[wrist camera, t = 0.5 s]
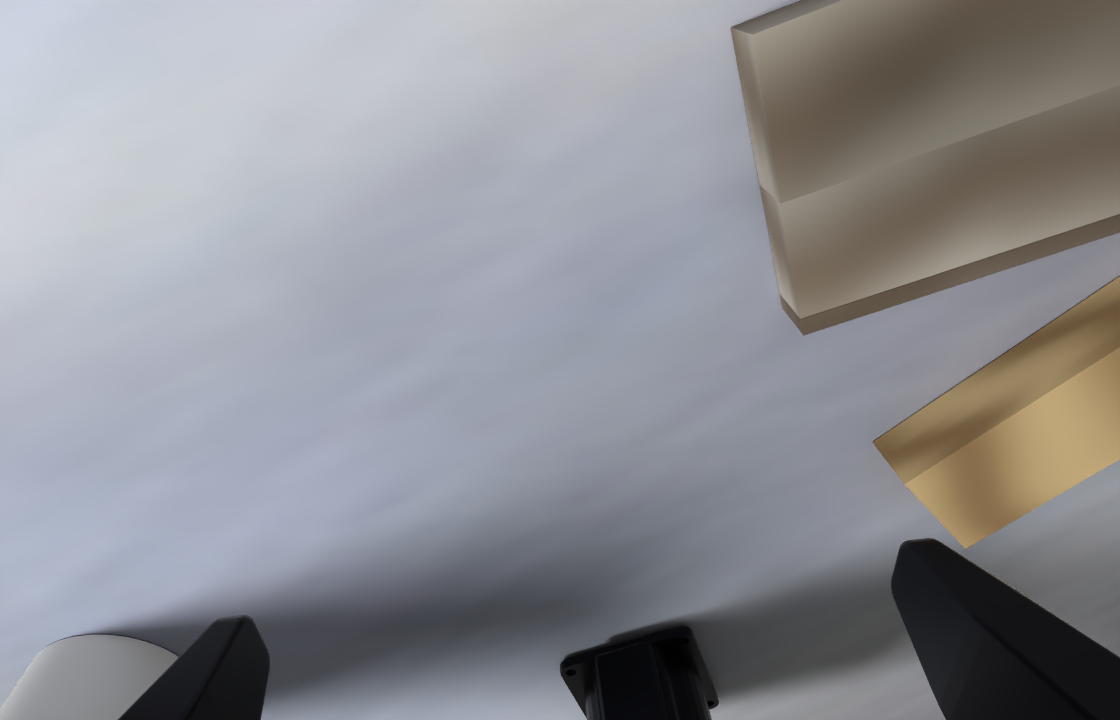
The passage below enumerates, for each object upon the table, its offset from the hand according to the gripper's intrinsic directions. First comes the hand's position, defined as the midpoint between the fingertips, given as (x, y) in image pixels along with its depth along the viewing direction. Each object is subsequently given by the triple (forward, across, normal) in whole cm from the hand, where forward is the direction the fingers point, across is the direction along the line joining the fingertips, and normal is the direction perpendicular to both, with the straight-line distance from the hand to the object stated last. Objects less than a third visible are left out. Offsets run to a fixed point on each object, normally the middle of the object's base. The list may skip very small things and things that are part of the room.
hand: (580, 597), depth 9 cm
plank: (+13, -20, +6) cm, 25 cm away
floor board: (+13, -16, -4) cm, 21 cm away
